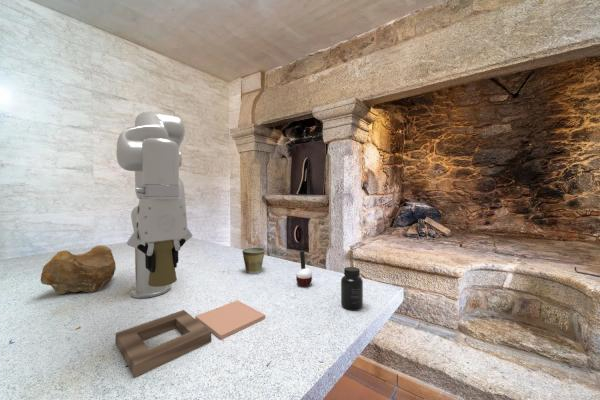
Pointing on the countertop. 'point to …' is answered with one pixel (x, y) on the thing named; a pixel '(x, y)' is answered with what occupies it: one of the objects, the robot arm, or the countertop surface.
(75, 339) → the countertop surface
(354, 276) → the supplement bottle
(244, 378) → the countertop surface
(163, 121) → the robot arm
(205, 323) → the terracotta tile
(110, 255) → the rough brown rock
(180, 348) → the frame
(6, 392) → the countertop surface
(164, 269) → the olive tall flared piece
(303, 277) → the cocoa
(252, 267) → the ceramic cup
